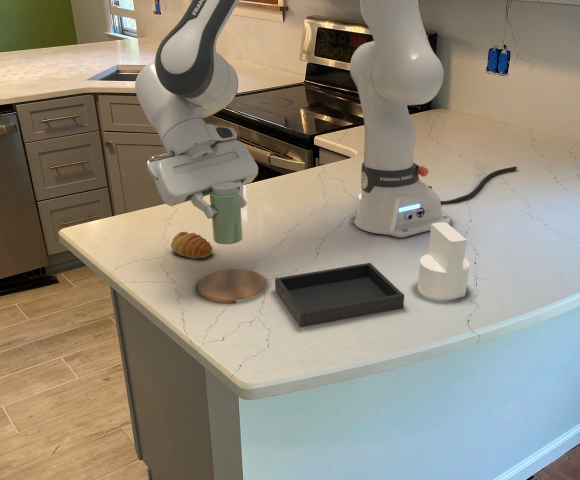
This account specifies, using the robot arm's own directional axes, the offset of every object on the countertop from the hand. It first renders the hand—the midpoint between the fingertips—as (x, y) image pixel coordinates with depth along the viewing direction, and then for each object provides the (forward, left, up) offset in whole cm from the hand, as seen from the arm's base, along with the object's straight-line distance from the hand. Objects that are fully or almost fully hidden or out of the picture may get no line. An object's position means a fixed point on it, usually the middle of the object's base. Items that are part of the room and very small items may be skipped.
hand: (228, 211), depth 113 cm
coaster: (0, -1, -16) cm, 16 cm away
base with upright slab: (-37, +15, -16) cm, 43 cm away
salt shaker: (0, -1, -5) cm, 5 cm away
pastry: (+4, -20, -16) cm, 26 cm away
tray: (-17, +12, -16) cm, 26 cm away
